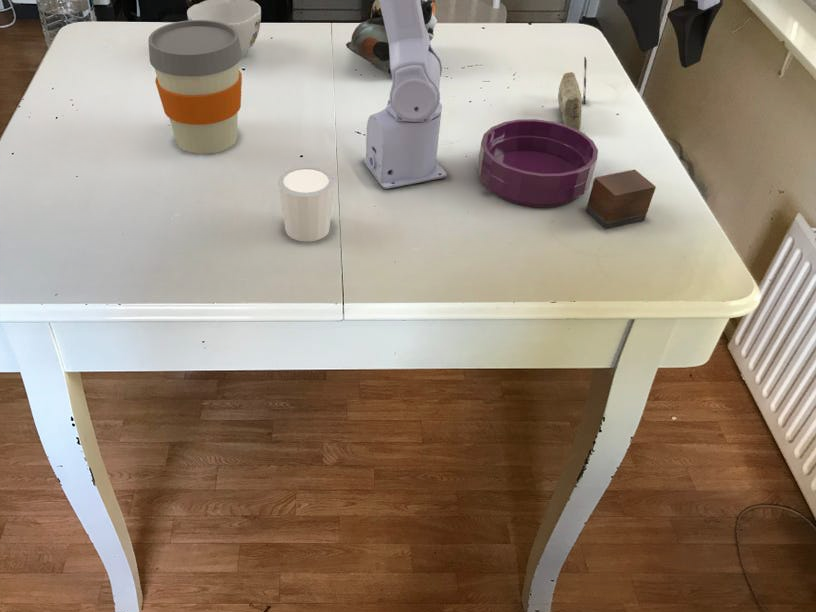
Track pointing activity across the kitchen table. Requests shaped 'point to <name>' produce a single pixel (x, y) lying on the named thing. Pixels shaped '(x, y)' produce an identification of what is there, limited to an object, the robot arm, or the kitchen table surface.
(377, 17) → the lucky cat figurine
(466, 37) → the kitchen table surface
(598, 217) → the eraser
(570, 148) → the bowl
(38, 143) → the kitchen table surface
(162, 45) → the reusable coffee cup
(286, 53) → the kitchen table surface
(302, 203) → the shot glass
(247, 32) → the teacup
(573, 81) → the cuneiform tablet
